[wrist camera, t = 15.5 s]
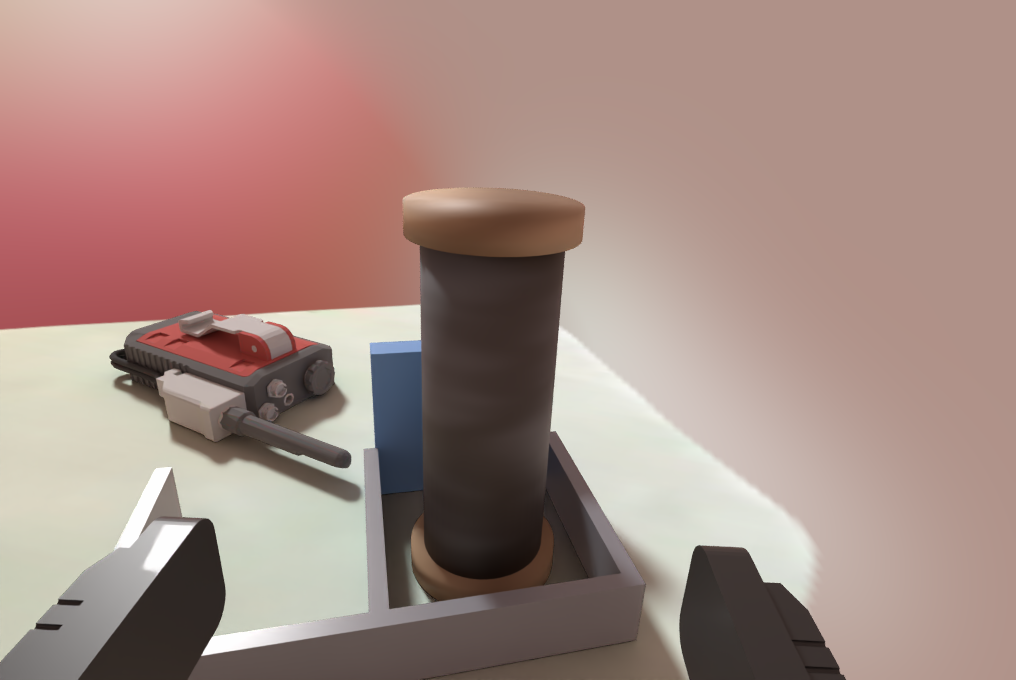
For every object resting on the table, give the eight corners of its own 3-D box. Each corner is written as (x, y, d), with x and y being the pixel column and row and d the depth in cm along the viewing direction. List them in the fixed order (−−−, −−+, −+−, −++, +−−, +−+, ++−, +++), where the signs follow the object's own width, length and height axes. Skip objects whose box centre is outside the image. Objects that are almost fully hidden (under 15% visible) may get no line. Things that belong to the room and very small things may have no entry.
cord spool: (419, 623, 21) (411, 220, 15) (405, 518, 26) (396, 186, 20) (571, 598, 22) (613, 220, 17) (530, 502, 27) (553, 187, 22)
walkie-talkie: (77, 391, 35) (334, 499, 27) (58, 322, 34) (326, 415, 25) (207, 343, 43) (441, 416, 34) (197, 284, 41) (440, 346, 33)
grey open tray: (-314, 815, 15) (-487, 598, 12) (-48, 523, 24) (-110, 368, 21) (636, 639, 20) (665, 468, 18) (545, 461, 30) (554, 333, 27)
